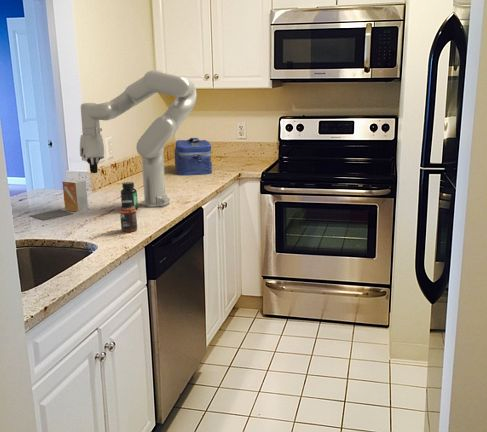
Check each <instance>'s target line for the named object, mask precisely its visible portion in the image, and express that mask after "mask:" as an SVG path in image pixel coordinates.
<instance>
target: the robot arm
mask: <svg viewBox="0 0 487 432" xmlns="http://www.w3.org/2000/svg"><path fill="white" fill-rule="evenodd" d="M157 93H158V94H161V95H168V96H172V97H174V98H175V97H176V98H175V100H174V101H173V102H172V103H171V104H170V106H169V107H168V108H167V109H166V111H165V112H164V113H163V114H162V115H161V116H158V117H157V118H155V120H153V122H151V124H150V125H149V127H147V129H146V130H145V131H144V133H143V134H142V135H141V136H140V138H139V139H138V140H137V142H136V147H135V148H136V152H137V153H138V156H140V157H141V166H142V169H141V170H142V181H143V182H142V183H143V195H144V196H143V197H144V200H142V201H141V202H140V204H141V206H142V207H147V208H148V207H149V208H156V207H157V208H158V207H164V206H167V205H169V204H170V201H171V198H170V197H168V194H166V180H165V177H166V176H165V163H164V162H165V160H164V159H165V157H164V155H165V153H164V151H165V147H164V146H165V144H166V143H167V142H168V141H169V140H170V138H171V137H172V136H173V135H175V134H176V133H177V131H178V129H179V128H180V127H181V125H182V124H183V123H184V122H185V120H186V119H187V117H188V116H189V115H190V113H191V112H192V111H193V109H194V108H195V105H196V103H197V97H198V96H197V88H196V86H195V83H194V82H193V80H192V79H191V78H189V77H188V76H185V75H183V76H181V75H176V74H170V73H167V72H162V71H161V70H157V69H153V70H152V69H151V70H149V71H147V72H146V73H144V76H142V77H141V78H139V79H137V80H136V81H134V82H132V83H131V84H128V86H127V87H126V88H125V89H124V91H123V92H122V93H121V94H119V95H118V96H116V97H114V98H113V99H111V100H109V101H106V102H103V103H102V102H101V103H95V102H85V103H81V104H80V115H81V116H80V117H81V129H82V132H81V133H82V134H81V135H80V138H79V156H80V157H81V161H83V162H87V164H89V172H90V173H91V174H97V173H98V170H99V169H98V164H99V162H100V161H101V160H103V159H104V158H105V145H104V139H103V136H102V134H101V132H102V131H103V129H102V127H101V126H100V124H101V123H100V121H106V122H107V121H111V120H113V119H116V118H118V117H119V116H121V115H122V114H124V113H126V112H127V111H129V110H131V109H132V108H133V107H136V106H137V105H140V103H142V102H144V101H146V100H147V99H149V98H150V97H152V96H154V95H155V94H157Z"/></svg>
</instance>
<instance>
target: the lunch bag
mask: <svg viewBox="0 0 487 432" xmlns="http://www.w3.org/2000/svg"><path fill="white" fill-rule="evenodd" d="M211 155H212V144H211V143H210V142H209V141H208V140H206V139H203V140H201V139H199V137H190V138H188V139H185V140H184V139H181V140H180V139H178V140H176V142H175V148H174V164H175V165H174V166H175V170H176V172H177V174H178V176H181V177H182V176H183V177H185V176H197V175H199V176H200V175H210V174H213V171H212V170H213V169H212V168H213V167H212V165H213V162H212V161H211V160H212V158H211Z"/></svg>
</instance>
